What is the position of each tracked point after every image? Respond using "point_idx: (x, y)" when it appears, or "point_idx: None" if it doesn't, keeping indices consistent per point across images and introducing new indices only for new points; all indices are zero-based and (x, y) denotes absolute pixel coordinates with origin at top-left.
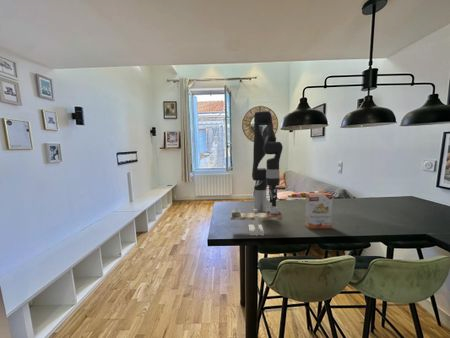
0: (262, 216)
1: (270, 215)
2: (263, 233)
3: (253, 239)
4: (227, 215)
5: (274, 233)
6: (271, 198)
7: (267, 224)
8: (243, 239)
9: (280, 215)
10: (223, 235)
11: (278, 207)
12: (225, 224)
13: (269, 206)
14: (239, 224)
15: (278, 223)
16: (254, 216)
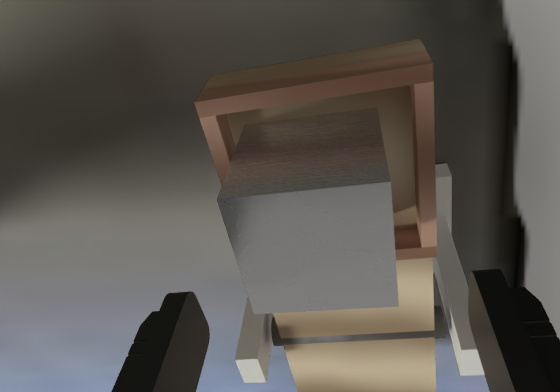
0: (401, 285)
1: (434, 225)
2: (450, 177)
3: (524, 230)
4: (97, 387)
5: None
6: (181, 389)
7: (169, 142)
8: (519, 286)
9: (432, 92)
10: (447, 377)
11: (364, 184)
12: (264, 383)
13: (320, 308)
14: (240, 322)
15: (97, 35)
16: (406, 346)
